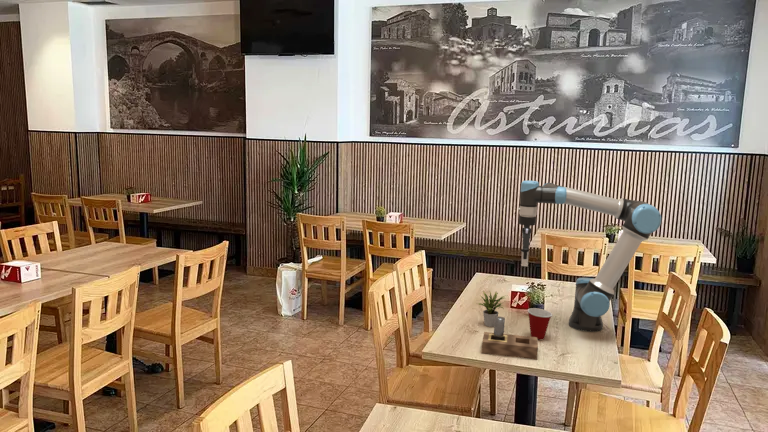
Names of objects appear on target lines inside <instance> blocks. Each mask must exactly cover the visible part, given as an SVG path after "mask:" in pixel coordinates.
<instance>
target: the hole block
mask: <svg viewBox="0 0 768 432" xmlns="http://www.w3.org/2000/svg"><path fill="white" fill-rule="evenodd" d="M493 337H494V332H489V331H484V332H483V336H482V341H481V354H483V355H484V354H485V355H492V356H493V355H494V356H501V357H502V356H503V357H510V358H518V359H519V358H520V359H528V360H538V353H539V350H538V349H539V344H538V343H539V342H538V340H537V337H531V336H525V335H518V334H508V333H504V335H503V341H501V340H493Z"/></svg>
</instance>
